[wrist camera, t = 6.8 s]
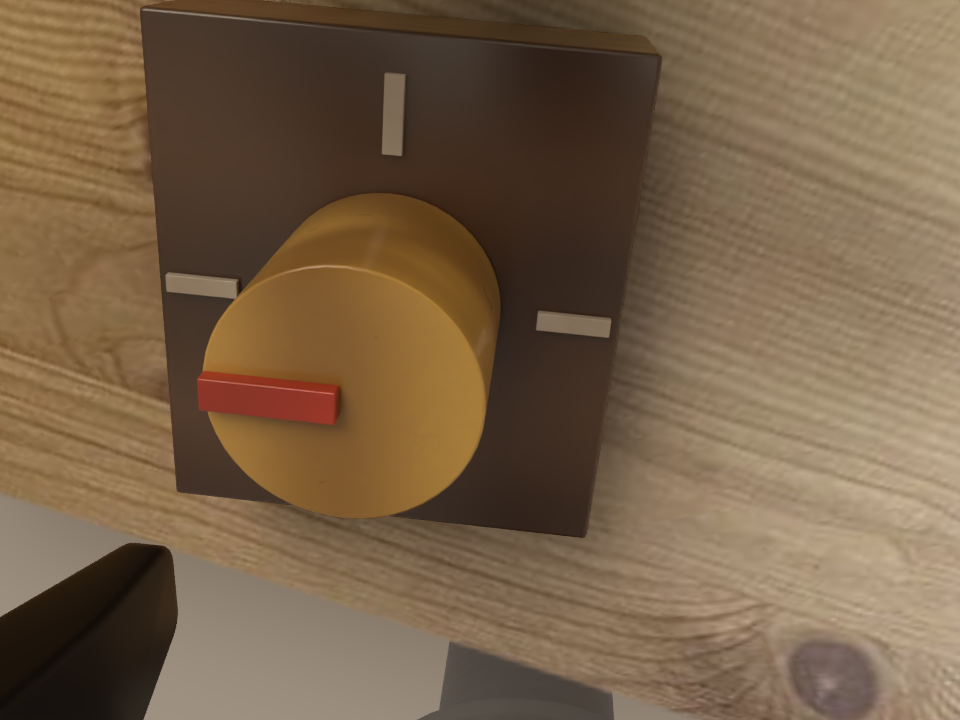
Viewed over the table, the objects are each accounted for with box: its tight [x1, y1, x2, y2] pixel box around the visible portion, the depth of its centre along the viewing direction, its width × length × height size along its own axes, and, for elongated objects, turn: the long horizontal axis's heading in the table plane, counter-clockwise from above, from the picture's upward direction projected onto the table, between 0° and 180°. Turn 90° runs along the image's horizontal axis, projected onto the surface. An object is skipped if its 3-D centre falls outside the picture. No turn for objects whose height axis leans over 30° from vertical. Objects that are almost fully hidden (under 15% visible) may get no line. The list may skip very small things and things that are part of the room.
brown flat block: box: [140, 0, 662, 538], centre depth 19 cm, size 10×9×3 cm
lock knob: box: [197, 193, 501, 519], centre depth 16 cm, size 4×4×4 cm
